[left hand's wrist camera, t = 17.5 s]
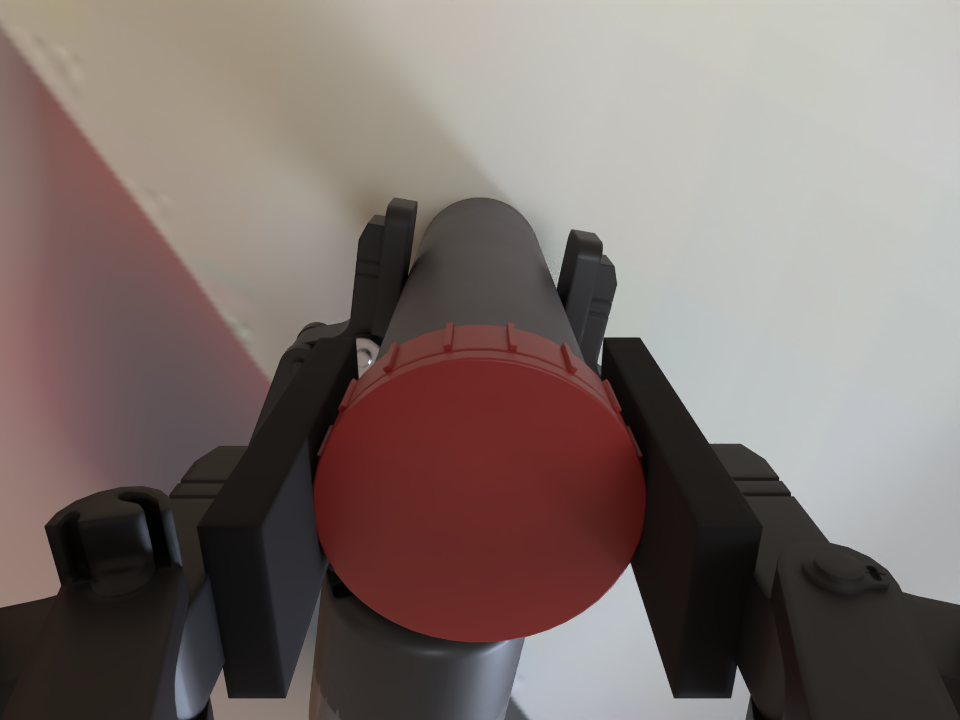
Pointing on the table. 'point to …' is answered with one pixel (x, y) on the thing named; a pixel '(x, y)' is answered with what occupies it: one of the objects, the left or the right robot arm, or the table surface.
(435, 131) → the table surface
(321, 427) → the left robot arm
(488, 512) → the lid
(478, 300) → the jar
